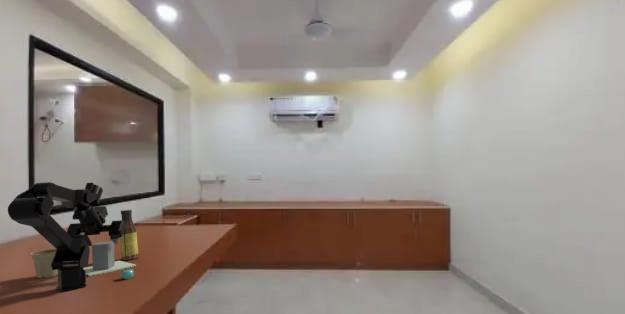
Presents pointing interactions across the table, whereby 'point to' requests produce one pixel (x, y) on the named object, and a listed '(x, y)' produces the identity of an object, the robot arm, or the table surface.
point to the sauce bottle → (128, 237)
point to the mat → (118, 266)
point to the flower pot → (44, 263)
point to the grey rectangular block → (103, 255)
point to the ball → (127, 274)
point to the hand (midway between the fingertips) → (104, 244)
